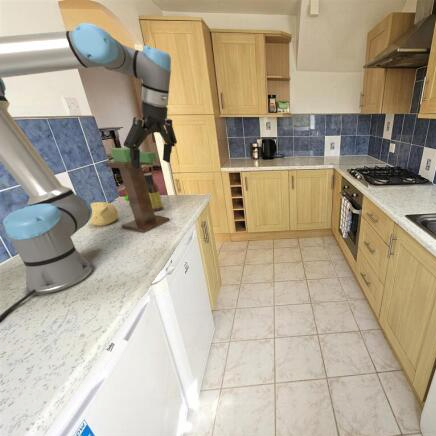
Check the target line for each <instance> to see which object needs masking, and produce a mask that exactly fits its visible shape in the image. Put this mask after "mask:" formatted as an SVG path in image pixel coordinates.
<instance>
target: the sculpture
mask: <svg viewBox="0 0 436 436" xmlns="http://www.w3.org/2000/svg"><path fill="white" fill-rule="evenodd" d="M90 205H91V207H92V216H91V218H90V220H89V221H88V222H90V223H91V224H92V225H94V226H97V227H98V226H99V227H100V226H103V227H104V226H107V225H110V224H112V223H114V222H115V221H116V220H117V219H118V217H119V213H118V209H117V208H116V207H115V205H113V204H112V203H109V202H107V201H100V202H99V201H97V202H96V201H95V202H92V203H90Z"/></svg>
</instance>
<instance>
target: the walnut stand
mask: <svg viewBox="0 0 436 436" xmlns="http://www.w3.org/2000/svg"><path fill="white" fill-rule="evenodd" d="M150 164H151V165H152V163H144V162H139V169H137V168H135V167H133V166H131V162H115V161H114V160H110V161H105V167H106V168H112V169H113V168H114V169H119V173H120V176H121V180H122V182H123V185H124V188H125V193H126V192H127V194H126V196H127V195H128V199H129V201H128V202H129V205H130V209H131V211H132V214H133V218H134V220H131V221H128V222H126V223H123V224H122V225H121V227H122V229H126V230H130V231H135V232H141V233H146V232H148V231H150V230H152V229H155V228H157V227H159V226H161V225H163V224H165V223H167V222H169V221H170V217H167V216H163V215H162V216H161V215H156V214H155V211H153V207H152V203H151V200H150V196H149V192H148V188H147V185H146V181H145V177H144V174H145V173H144V170H143V167H142V166H146V165H150Z"/></svg>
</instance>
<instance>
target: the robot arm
mask: <svg viewBox="0 0 436 436" xmlns="http://www.w3.org/2000/svg"><path fill="white" fill-rule="evenodd" d="M171 63H172V58H171V55H170V54H169V53H168V52H166V51H163V50H161V49H158V48H155V47H152V46H150V45H143V47H142V50H139V49H135V48H133V47H129V46H127V45H125V44H122V43H121V42H120V41H118V40H117V39H116V38H114V37H113V36H112V35H111V33H109V32H108V31H106V30H105V29H103V28H102V27H100V26H97V25H95V24H93V23H90V22H89V23H88V22H84V23H83V22H82V23H79V24H78V25H76V26H75V27H74V29H71V30H62V31H51V32H42V33H41V32H39V33H29V34H27V33H26V34H16V35H6V36H5V35H4V36H0V162H1V164H2V165H3V166H4V167H5V168H6V170H7V171H8V172H9V174H10V175H11V176H12V177H13V178H14V179H15V181H16V182H17V183H18V185H19V186H20V188H22V189H23V191H24V192H25V193H26V194H27V196H28V198H29V199H28V202H27V205H28V206H25V207H24V208H19V209H16V210H14V211H12V212H10V213H9V214H7V215H6V216H5V217H4V218H3V220H2V224H3V227H4V229H5V233H6V236H8V238H9V239H10V241H11V243H12V245H13V247H14V248H15V250H16V252H17V254H18V255H19V257H20V259H21V261H22V263H23V265H24V266H25V286H26V288H27V290H28V293H27V294H26V295H24V296H23V297H22V298H20V299H19V300H17V302H15V303H14V304H12V305H11V306H10V307H9V308H7V309H6V310H5V311H3V312H2V314H0V321H1V320H2V319H3V318H5V316H7V315H8V314H9V313H11V311H13V310H14V309H15V308H16V307H18V306H19V305H21V304H22V303H23V302H24V301H26V300H27V299H28V298H30V297H31V296H32V295H37V296H38V295H39V296H40V295H41V296H42V295H48V294H53V293H57V292H60V291H63V290H66V289H68V288H71V287H73V286H75V285H77V284H79V283H81V282H83V281H84V280H85V279H86V278H88V277H89V276H90V275H91V273H92V272H93V267H92V264H91V263H90V261H88V260H87V259H86V258H85V257H84V256H83V255H82V254H81V253H80V252H79V251H78V250H77V249H76V246H75V244H74V241H73V239H72V236H74V234H76V232H78V231H80V230H81V229H82V228H84V227H85V226H86V225H87V224H88V223H89V222H90V221H89V220H90V218H91V216H92V207H91V205H90V204H91V203H90V202H89V201H88V199H86V197H83V196H80V195H78V194H76V193H75V192H74V191H73V189H72V188H71V187H67V186H65V185H63V184H62V183H61V182H60V180H59V179H58V177H56V175H55V173H54V172H53V171H52V170H51V168H50V167H49V166H48V164H47V163H46V161H45V160H44V158H43V157H42V156H41V154H40V153H39V152H38V151H37V149H36V148H35V146H34V145H33V144H32V143H31V141H30V140H29V138H28V137H27V136H26V134H25V133H24V132H23V130H22V129H21V128H20V125H18V123H17V122H16V121H15V120H14V118H13V117H12V115H11V114H10V113H9V110H8V109H9V106H10V104H11V103H10V102H9V100H8V98H7V97H6V84H5V82H4V80H3V79H4V78H5V79H6V78H12V77H20V76H21V77H22V76H29V75H38V74H45V73H46V74H47V73H53V72H62V71H69V70H70V71H71V70H80V69H89V68H90V69H91V68H98V67H101V68H103V69H106V70H108V71H113V72H115V73H120V74H123V75H125V76H128V77H129V76H130V77H133V78H136V79H139V80H141V104H140V105H141V108H140V109H141V110H140V112H141V114H142V117H141V118H138V117H136V116H134V117H133V118H132V125H131V127H130V129H129V131H128V133H127V136H126V137H125V140H124V142H123V144H122V145H123V147H127V148H129V149H130V158H131V166H133V167H135V168H137V169H139V162H140V152H141V149H140V147H141V146H142V144H143V143H144V141H145V140H146V138H147V137H148V136H150V135H151V134H155V133H157V134H159V135H160V136H161V137H162V139H163V141H164V142H165V143H164V144H163V150H162V151H163V152H162V154H163V155H162V161H164V162H166V163H168V164H170V163H171V154H172V151H173V148H174V147H176V145H177V144H178V140H177V137H176V134H175V129H174V127H173V120H172V119H170V118H168V109H169V108H168V107H167V106H169V95H170V94H169V93H170V86H171V85H170V84H171V73H172V69H171V68H172V67H171V66H172V65H171ZM138 148H139V149H140V150H138Z"/></svg>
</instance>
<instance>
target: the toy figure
mask: <svg viewBox="0 0 436 436" xmlns="http://www.w3.org/2000/svg"><path fill="white" fill-rule="evenodd" d="M138 150H140V162H144V163H151V164H152V163H156V162H158V158H157V154H156V152H154V151H153V152H152V151H141V148H140V147H139V148H138ZM110 155H111V157H112V159H113V161H115V162H131V158H130V149H129V148H127V147H125V146H123V147H115V148H114V147H113V148H111V149H110Z"/></svg>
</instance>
